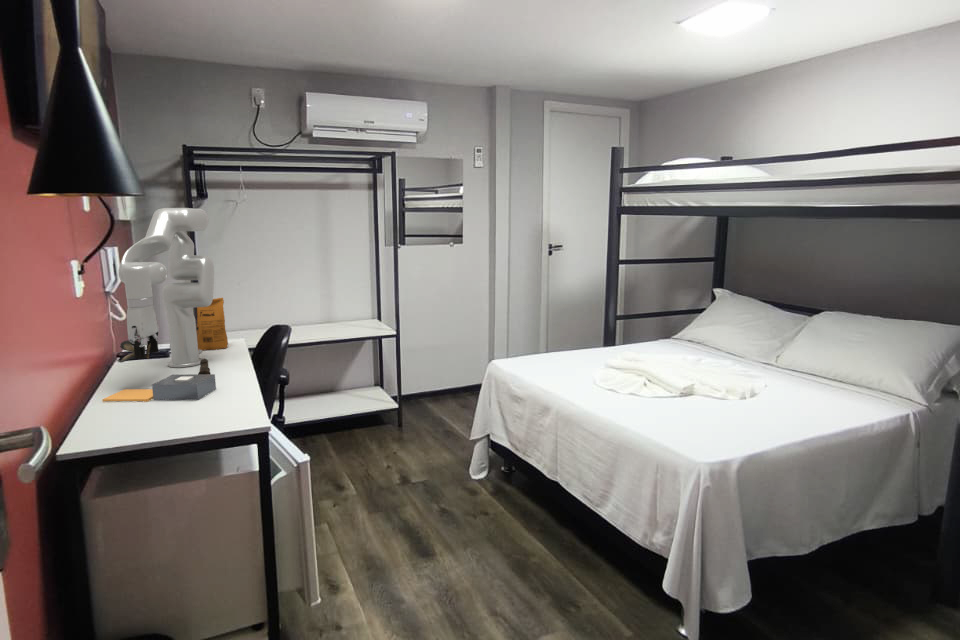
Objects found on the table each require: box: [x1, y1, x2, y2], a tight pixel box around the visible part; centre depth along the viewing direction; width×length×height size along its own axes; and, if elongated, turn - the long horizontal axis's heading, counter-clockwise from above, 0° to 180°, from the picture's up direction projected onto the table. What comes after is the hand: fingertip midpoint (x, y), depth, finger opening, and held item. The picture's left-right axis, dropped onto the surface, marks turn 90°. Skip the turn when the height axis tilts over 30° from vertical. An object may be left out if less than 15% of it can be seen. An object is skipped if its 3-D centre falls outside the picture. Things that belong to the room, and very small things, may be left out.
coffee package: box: [196, 297, 229, 352], centre depth 255 cm, size 10×12×22 cm
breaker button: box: [175, 376, 194, 381], centre depth 187 cm, size 4×4×4 cm
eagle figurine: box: [118, 340, 151, 364], centre depth 195 cm, size 8×7×9 cm
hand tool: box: [198, 358, 212, 374], centre depth 212 cm, size 19×4×5 cm, turn 22°
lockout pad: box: [102, 388, 153, 403], centre depth 186 cm, size 11×14×1 cm
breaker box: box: [151, 373, 217, 401], centre depth 187 cm, size 12×14×5 cm
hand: (147, 354), depth 196 cm, fingers closed on eagle figurine, 6 cm apart
